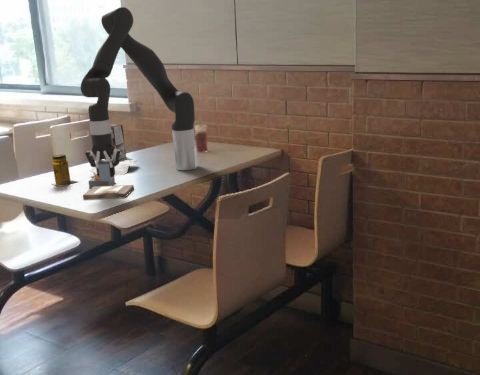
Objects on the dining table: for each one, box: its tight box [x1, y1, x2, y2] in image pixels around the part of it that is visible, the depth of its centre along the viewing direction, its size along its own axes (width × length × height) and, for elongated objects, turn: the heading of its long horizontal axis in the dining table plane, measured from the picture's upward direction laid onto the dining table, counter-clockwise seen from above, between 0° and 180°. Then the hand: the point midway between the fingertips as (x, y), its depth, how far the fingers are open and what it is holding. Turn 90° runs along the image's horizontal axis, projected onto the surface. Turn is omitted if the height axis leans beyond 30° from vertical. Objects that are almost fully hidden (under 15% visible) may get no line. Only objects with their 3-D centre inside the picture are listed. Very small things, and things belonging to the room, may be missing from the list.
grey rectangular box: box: [98, 159, 115, 181], centre depth 224 cm, size 4×4×7 cm
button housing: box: [88, 176, 116, 189], centre depth 239 cm, size 8×8×3 cm
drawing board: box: [82, 184, 135, 200], centre depth 226 cm, size 16×12×2 cm
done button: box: [93, 173, 100, 180], centre depth 238 cm, size 4×4×3 cm
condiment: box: [52, 154, 79, 187], centre depth 246 cm, size 7×8×12 cm
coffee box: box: [110, 124, 127, 161], centre depth 288 cm, size 9×6×16 cm
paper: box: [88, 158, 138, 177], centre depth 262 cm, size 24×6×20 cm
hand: (106, 176), depth 224 cm, fingers closed on grey rectangular box, 4 cm apart
